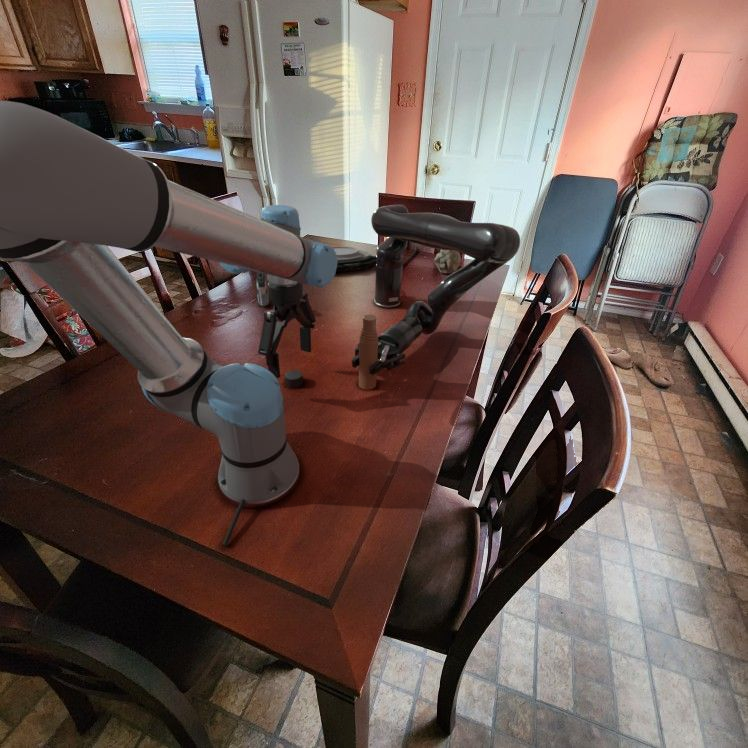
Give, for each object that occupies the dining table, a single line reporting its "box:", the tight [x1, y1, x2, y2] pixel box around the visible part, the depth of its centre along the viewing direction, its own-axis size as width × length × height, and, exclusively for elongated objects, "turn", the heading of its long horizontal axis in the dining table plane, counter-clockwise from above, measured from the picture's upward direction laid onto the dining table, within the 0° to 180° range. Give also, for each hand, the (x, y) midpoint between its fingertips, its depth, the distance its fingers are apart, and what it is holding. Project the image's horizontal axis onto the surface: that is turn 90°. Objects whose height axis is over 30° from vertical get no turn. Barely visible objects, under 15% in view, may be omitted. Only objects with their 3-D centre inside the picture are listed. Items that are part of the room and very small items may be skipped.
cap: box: [284, 369, 304, 389], centre depth 106 cm, size 4×4×3 cm
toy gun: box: [255, 272, 270, 307], centre depth 140 cm, size 4×19×10 cm
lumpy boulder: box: [433, 250, 462, 275], centre depth 175 cm, size 11×11×15 cm
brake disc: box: [331, 245, 376, 272], centre depth 179 cm, size 32×30×5 cm
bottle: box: [358, 314, 379, 391], centre depth 102 cm, size 5×5×20 cm
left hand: (291, 362), depth 102 cm, fingers open, 13 cm apart
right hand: (362, 367), depth 102 cm, fingers closed on bottle, 4 cm apart
